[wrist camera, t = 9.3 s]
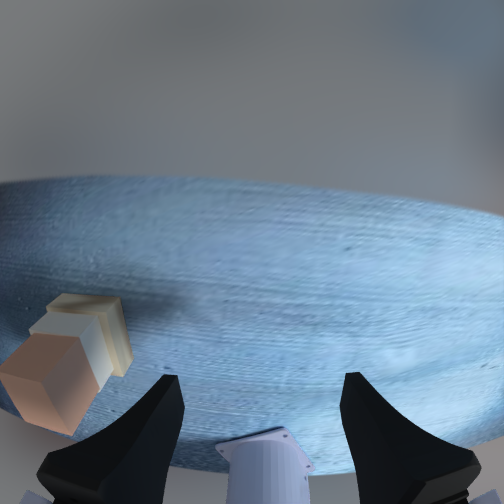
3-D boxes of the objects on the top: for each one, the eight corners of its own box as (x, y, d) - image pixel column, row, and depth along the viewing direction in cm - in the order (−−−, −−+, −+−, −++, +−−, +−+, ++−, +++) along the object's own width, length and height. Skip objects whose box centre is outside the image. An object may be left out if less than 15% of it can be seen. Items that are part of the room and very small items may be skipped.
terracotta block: (79, 337, 17) (40, 382, 13) (100, 388, 19) (72, 435, 14) (34, 332, 18) (-5, 370, 13) (55, 380, 19) (25, 421, 14)
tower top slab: (97, 315, 20) (78, 336, 17) (113, 369, 22) (99, 392, 19) (48, 311, 21) (28, 329, 18) (66, 361, 22) (50, 381, 19)
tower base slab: (121, 295, 23) (105, 312, 20) (135, 356, 25) (123, 376, 22) (64, 291, 23) (45, 306, 20) (80, 348, 25) (65, 366, 22)
